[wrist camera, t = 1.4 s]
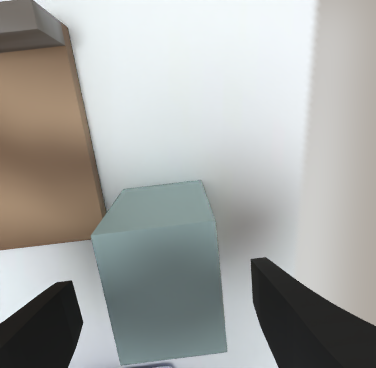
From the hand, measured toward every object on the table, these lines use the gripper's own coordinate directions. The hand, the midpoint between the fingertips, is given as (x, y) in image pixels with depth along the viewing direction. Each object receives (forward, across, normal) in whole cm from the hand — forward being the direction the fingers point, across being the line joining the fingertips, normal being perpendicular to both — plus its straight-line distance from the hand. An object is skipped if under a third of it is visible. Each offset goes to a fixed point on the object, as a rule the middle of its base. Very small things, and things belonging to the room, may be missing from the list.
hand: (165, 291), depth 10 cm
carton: (+6, 0, 0) cm, 6 cm away
